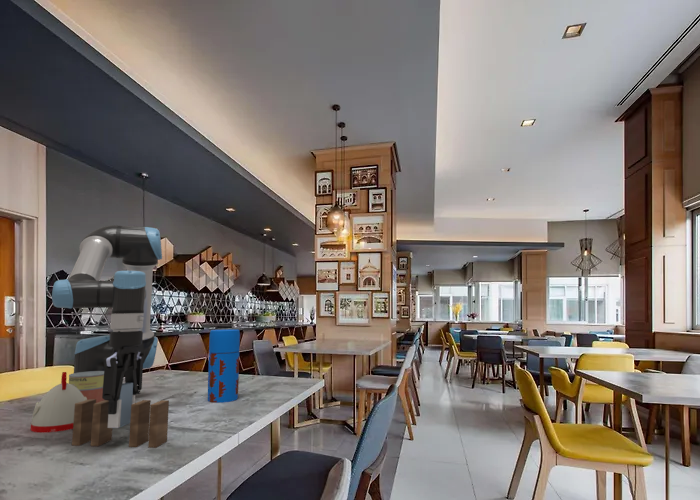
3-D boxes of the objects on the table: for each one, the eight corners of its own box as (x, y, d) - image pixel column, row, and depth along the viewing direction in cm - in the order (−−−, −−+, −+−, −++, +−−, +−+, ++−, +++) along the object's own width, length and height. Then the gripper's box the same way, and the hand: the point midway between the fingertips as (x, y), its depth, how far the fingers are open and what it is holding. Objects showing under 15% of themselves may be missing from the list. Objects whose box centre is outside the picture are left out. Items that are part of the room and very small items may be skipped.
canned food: (58, 412, 136) (61, 374, 138) (93, 405, 146) (95, 370, 148) (78, 416, 131) (81, 377, 133) (113, 408, 141) (115, 372, 143)
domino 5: (148, 447, 102) (150, 404, 103) (159, 441, 107) (161, 400, 108) (156, 447, 101) (158, 405, 103) (166, 441, 106) (168, 400, 108)
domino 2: (90, 446, 103) (93, 403, 104) (104, 439, 108) (107, 399, 109) (98, 446, 103) (101, 404, 104) (111, 439, 108) (114, 399, 109)
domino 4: (128, 447, 102) (131, 404, 103) (140, 440, 107) (143, 400, 108) (136, 447, 102) (138, 404, 103) (148, 440, 107) (150, 400, 108)
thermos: (226, 395, 161) (228, 329, 165) (244, 398, 155) (245, 329, 158) (201, 400, 153) (204, 330, 156) (218, 404, 146) (220, 331, 150)
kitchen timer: (86, 416, 131) (89, 367, 133) (90, 426, 120) (94, 373, 122) (30, 424, 123) (35, 371, 125) (30, 435, 112) (35, 378, 114)
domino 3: (110, 428, 103) (113, 386, 104) (123, 422, 108) (126, 382, 109) (118, 428, 103) (121, 386, 104) (130, 422, 108) (133, 382, 109)
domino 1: (71, 445, 104) (74, 403, 105) (86, 439, 109) (89, 399, 110) (79, 445, 103) (82, 403, 105) (93, 439, 108) (96, 399, 110)
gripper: (118, 332, 99) (111, 435, 96) (159, 328, 117) (155, 415, 114) (88, 332, 100) (81, 434, 97) (134, 328, 118) (129, 414, 115)
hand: (121, 424), depth 105 cm, fingers closed on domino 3, 5 cm apart
